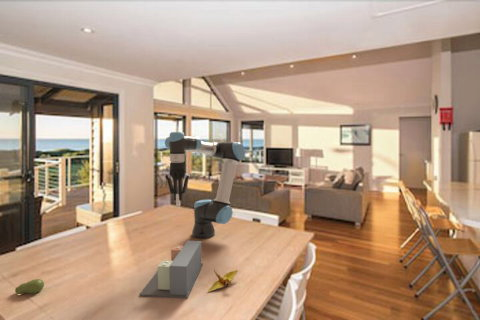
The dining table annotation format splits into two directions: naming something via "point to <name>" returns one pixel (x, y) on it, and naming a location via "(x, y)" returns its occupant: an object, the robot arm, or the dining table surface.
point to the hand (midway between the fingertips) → (178, 206)
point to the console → (179, 273)
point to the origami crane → (223, 280)
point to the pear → (30, 287)
